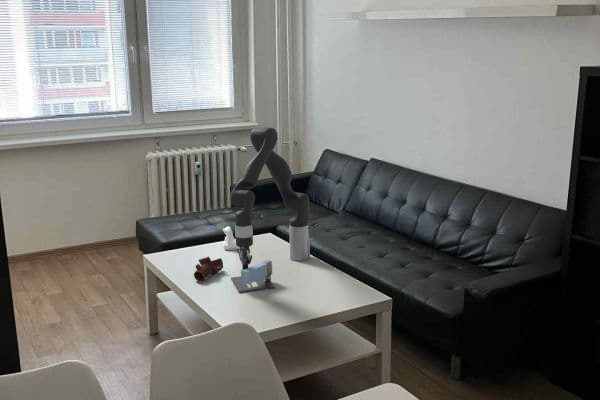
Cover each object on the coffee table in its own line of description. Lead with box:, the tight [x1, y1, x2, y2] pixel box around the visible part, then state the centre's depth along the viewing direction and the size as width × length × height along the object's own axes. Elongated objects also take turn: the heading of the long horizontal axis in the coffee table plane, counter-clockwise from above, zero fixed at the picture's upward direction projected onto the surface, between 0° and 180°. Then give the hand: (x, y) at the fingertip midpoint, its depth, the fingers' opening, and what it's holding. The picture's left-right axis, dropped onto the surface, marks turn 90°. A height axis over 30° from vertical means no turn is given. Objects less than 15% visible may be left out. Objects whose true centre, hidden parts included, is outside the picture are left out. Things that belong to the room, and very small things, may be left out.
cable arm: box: [240, 259, 273, 284], centre depth 305 cm, size 17×5×6 cm, turn 143°
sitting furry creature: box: [222, 226, 240, 251], centre depth 360 cm, size 10×9×12 cm
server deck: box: [230, 274, 276, 294], centre depth 309 cm, size 16×18×4 cm
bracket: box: [193, 256, 224, 282], centre depth 320 cm, size 6×17×10 cm, turn 156°
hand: (245, 272), depth 304 cm, fingers closed
